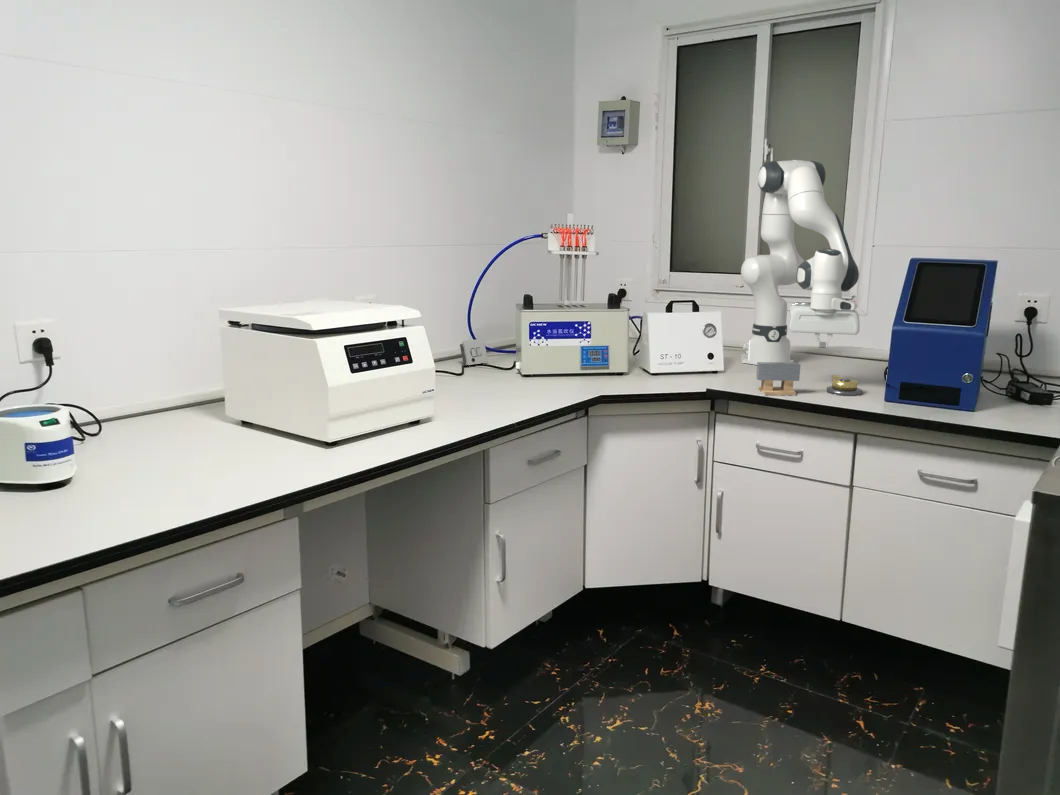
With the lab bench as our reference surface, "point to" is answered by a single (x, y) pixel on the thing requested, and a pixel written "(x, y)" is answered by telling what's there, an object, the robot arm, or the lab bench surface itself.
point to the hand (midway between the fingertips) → (822, 347)
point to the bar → (778, 371)
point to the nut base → (844, 392)
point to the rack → (777, 388)
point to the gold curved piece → (843, 383)
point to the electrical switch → (473, 352)
